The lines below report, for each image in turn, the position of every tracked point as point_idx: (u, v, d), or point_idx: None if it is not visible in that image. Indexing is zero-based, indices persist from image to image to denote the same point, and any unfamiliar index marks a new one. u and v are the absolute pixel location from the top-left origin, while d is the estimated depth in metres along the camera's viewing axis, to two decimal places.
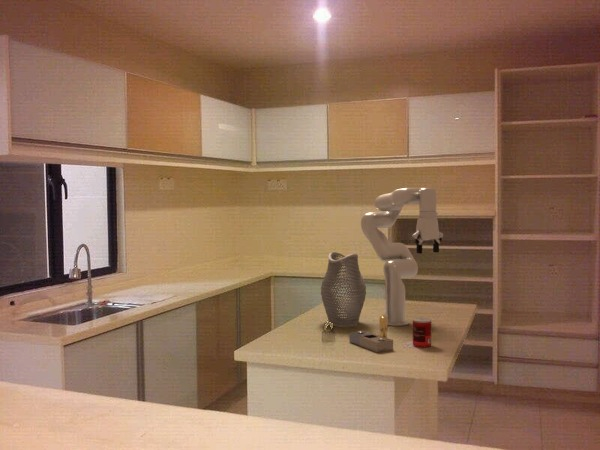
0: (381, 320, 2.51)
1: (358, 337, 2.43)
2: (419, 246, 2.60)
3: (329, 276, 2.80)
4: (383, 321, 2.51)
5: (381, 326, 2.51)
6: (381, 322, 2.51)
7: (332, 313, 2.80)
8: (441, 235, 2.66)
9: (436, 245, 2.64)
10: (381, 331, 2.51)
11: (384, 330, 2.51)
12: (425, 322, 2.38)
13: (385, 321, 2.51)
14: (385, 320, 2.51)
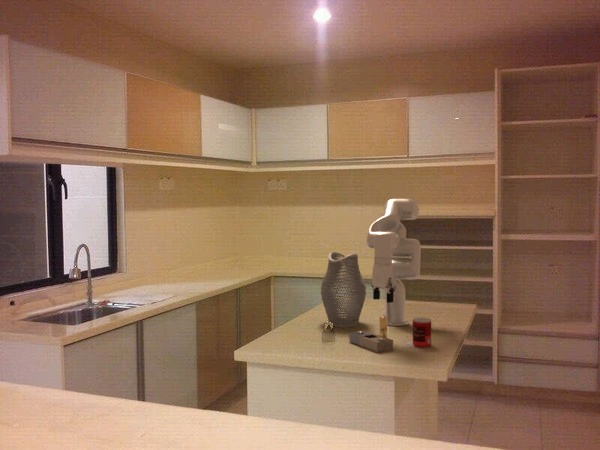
0: (381, 320, 2.51)
1: (358, 337, 2.43)
2: (392, 295, 2.47)
3: (329, 276, 2.80)
4: (383, 321, 2.51)
5: (381, 326, 2.51)
6: (381, 322, 2.51)
7: (332, 313, 2.80)
8: None
9: (378, 292, 2.56)
10: (381, 331, 2.51)
11: (384, 330, 2.51)
12: (425, 322, 2.38)
13: (385, 321, 2.51)
14: (385, 320, 2.51)
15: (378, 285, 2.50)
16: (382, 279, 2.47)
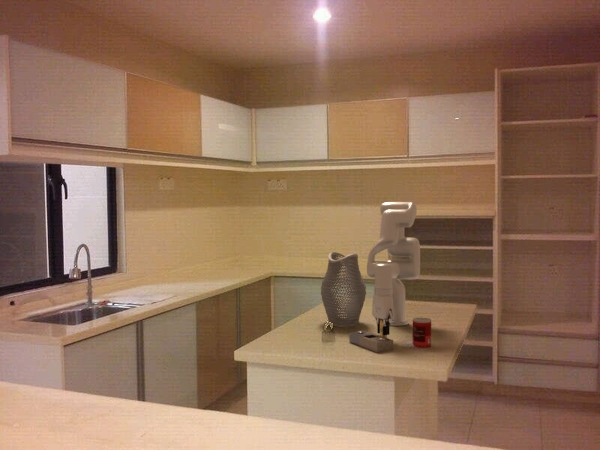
0: (381, 320, 2.51)
1: (358, 337, 2.43)
2: (388, 327, 2.51)
3: (329, 276, 2.80)
4: None
5: (381, 326, 2.51)
6: (381, 322, 2.51)
7: (332, 313, 2.80)
8: None
9: None
10: (381, 331, 2.51)
11: None
12: (425, 322, 2.38)
13: None
14: None
15: (378, 316, 2.51)
16: (382, 310, 2.48)
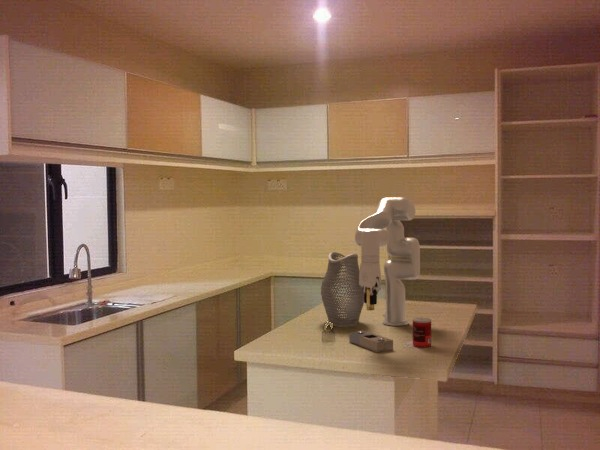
0: (368, 289, 2.40)
1: (358, 337, 2.43)
2: (375, 296, 2.39)
3: (329, 276, 2.80)
4: None
5: (368, 295, 2.40)
6: (368, 291, 2.40)
7: (332, 313, 2.80)
8: None
9: None
10: (368, 300, 2.40)
11: None
12: (425, 322, 2.38)
13: None
14: None
15: (365, 284, 2.39)
16: (369, 278, 2.37)
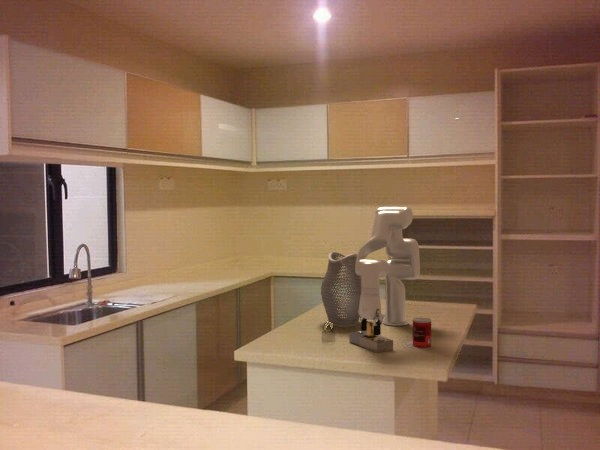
0: (368, 325, 2.41)
1: (358, 337, 2.43)
2: (379, 327, 2.38)
3: (329, 276, 2.80)
4: (370, 326, 2.41)
5: (368, 332, 2.41)
6: (368, 327, 2.41)
7: (332, 313, 2.80)
8: None
9: (366, 323, 2.46)
10: (368, 337, 2.41)
11: (372, 336, 2.41)
12: (425, 322, 2.38)
13: (372, 326, 2.41)
14: (372, 325, 2.41)
15: (365, 316, 2.40)
16: (369, 310, 2.38)
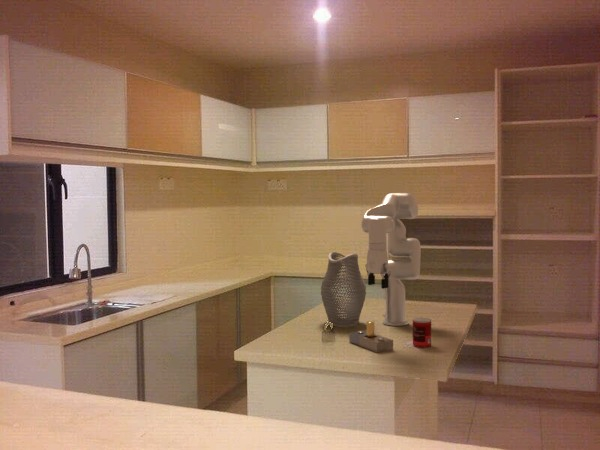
0: (368, 325, 2.41)
1: (358, 337, 2.43)
2: None
3: (329, 276, 2.80)
4: (370, 326, 2.40)
5: (368, 332, 2.41)
6: (368, 327, 2.41)
7: (332, 313, 2.80)
8: None
9: (373, 277, 2.52)
10: (368, 337, 2.41)
11: (372, 336, 2.41)
12: (425, 322, 2.38)
13: (372, 326, 2.41)
14: (372, 325, 2.41)
15: (373, 271, 2.46)
16: (376, 265, 2.43)
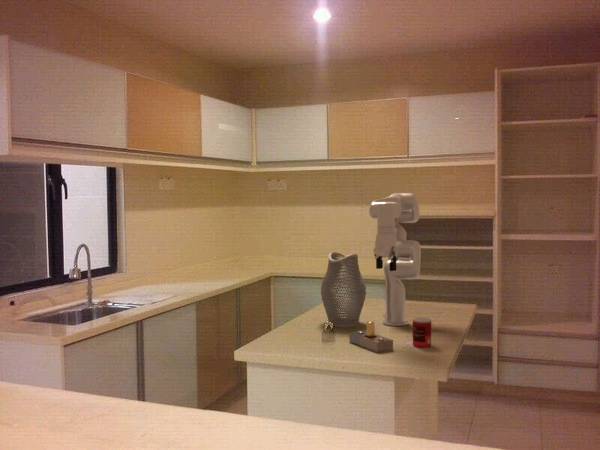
0: (368, 325, 2.41)
1: (358, 337, 2.43)
2: None
3: (329, 276, 2.80)
4: (370, 326, 2.40)
5: (368, 332, 2.41)
6: (368, 327, 2.41)
7: (332, 313, 2.80)
8: None
9: (381, 261, 2.59)
10: (368, 337, 2.41)
11: (372, 336, 2.41)
12: (425, 322, 2.38)
13: (372, 326, 2.41)
14: (372, 325, 2.41)
15: (381, 254, 2.53)
16: (385, 248, 2.50)
